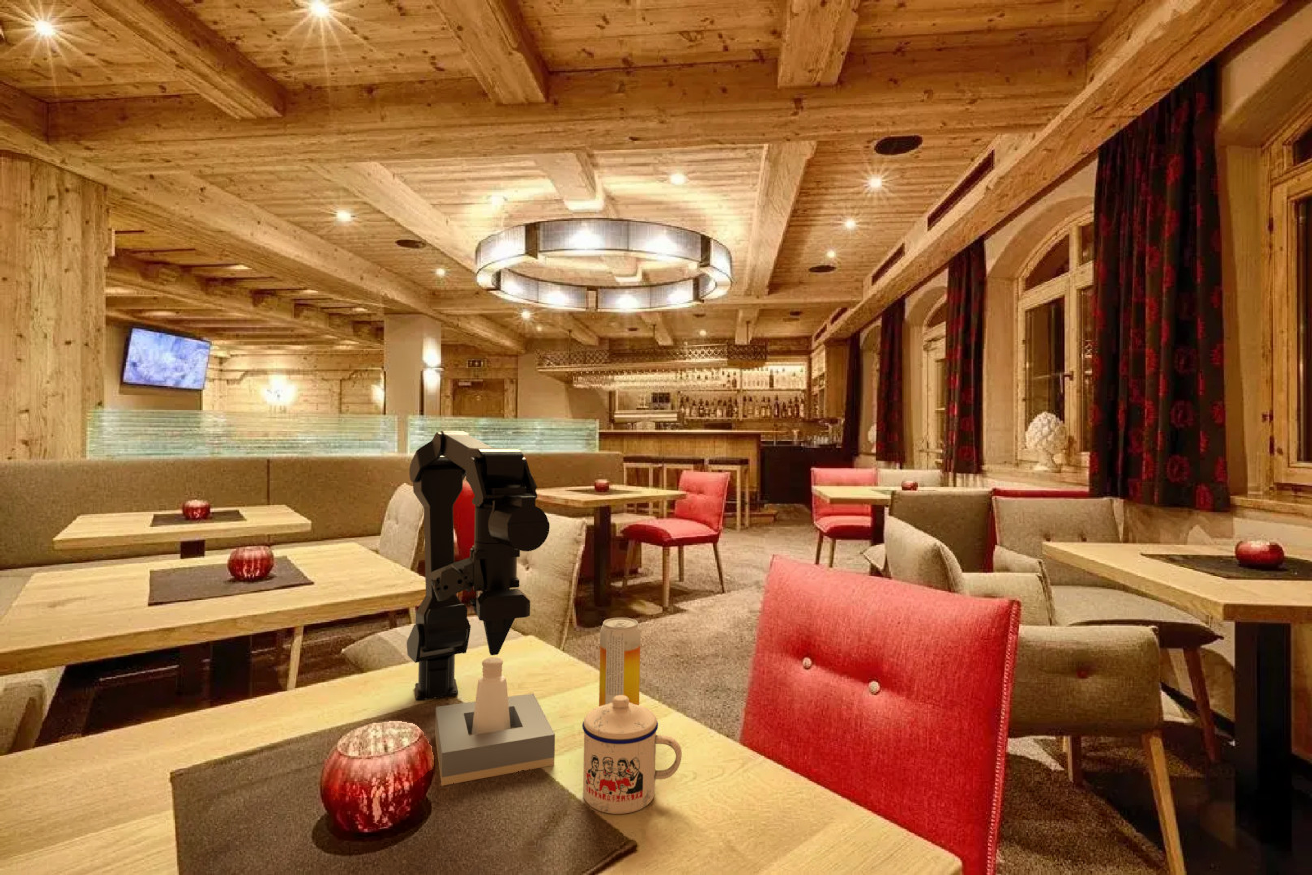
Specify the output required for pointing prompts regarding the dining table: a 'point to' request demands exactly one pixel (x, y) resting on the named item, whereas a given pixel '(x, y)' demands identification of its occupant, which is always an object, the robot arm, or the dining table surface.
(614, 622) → the beer can
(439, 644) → the robot arm
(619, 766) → the teacup with lid
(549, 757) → the socket block
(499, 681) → the pepper shaker
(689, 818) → the dining table surface
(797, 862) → the dining table surface
